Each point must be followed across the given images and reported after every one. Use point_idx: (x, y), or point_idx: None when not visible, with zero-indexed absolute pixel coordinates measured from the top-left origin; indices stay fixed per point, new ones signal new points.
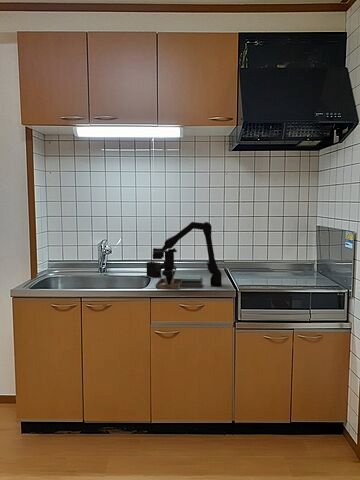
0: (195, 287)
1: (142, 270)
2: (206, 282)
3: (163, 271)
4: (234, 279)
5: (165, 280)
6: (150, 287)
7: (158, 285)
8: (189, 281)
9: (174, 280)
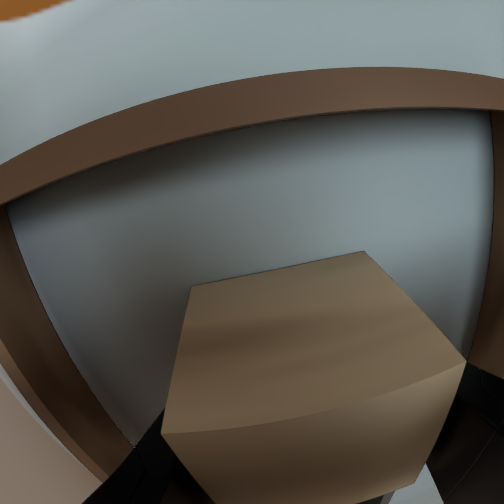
0: None
1: None
2: (434, 486)
3: None
4: None
5: (176, 388)
6: (23, 49)
7: None
8: (377, 498)
9: (498, 339)
